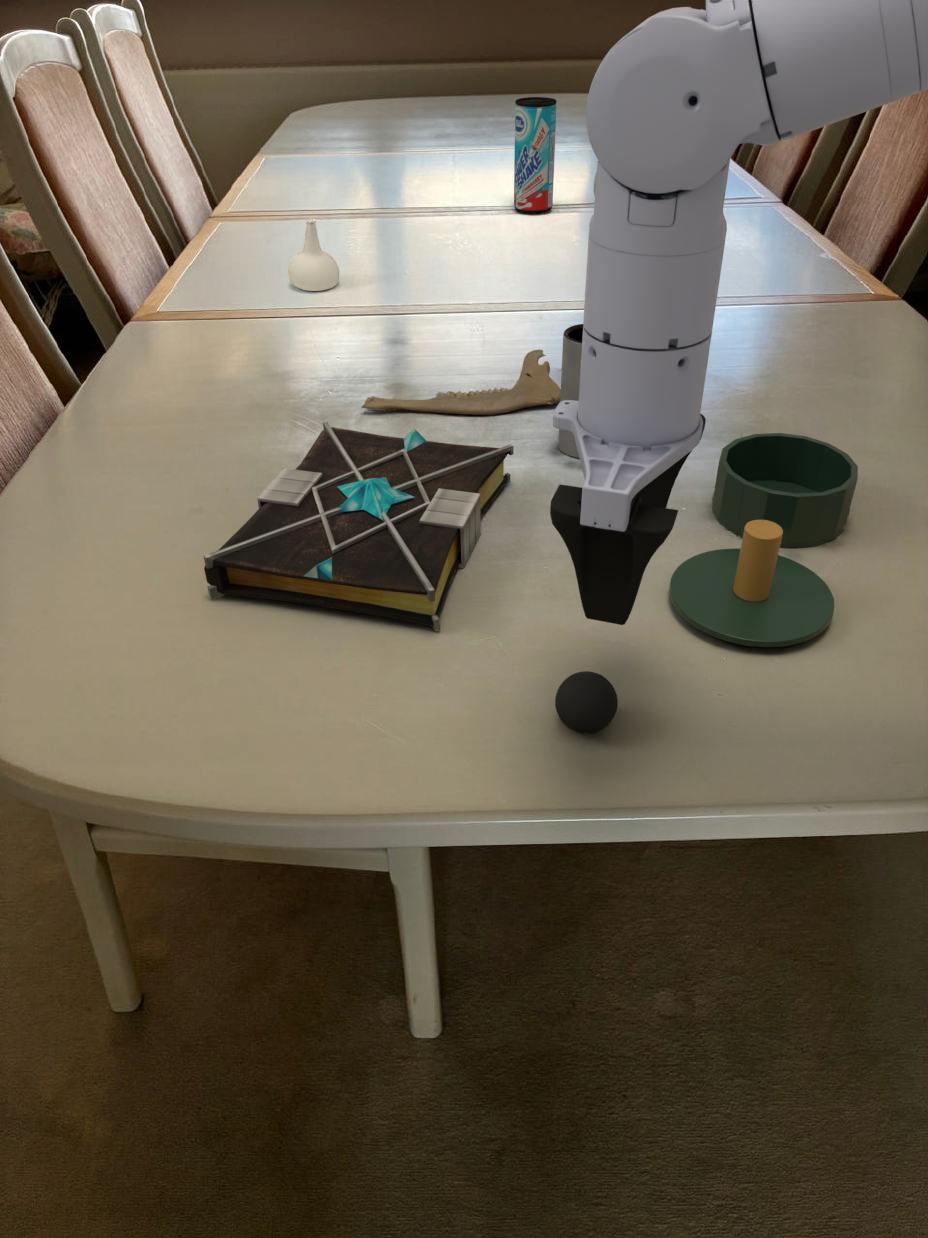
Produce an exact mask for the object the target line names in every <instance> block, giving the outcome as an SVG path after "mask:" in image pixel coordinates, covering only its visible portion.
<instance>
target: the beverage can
mask: <svg viewBox="0 0 928 1238" xmlns="http://www.w3.org/2000/svg"><path fill="white" fill-rule="evenodd" d="M514 102H515V103H514V104H515V108H514V109H515V110H514V111H515V112H514V164H513V165H514V167H513V168H514V171H513V177H514V178H513V186H514V187H513V208H514V210H515V211H516V212H517V213H520V214H522V215H530V216H531V215H533V216H535V215H544V214H547V213H549V212H551V211H552V208H553V204H554V203H553V200H554V177H555V176H554V175H555V157H556V156H555V153H556V129H557V127H556V125H557V122H556V121H557V102H558V101H557V99H555V98H553V97H546V96H543V97H542V96H528V97H522V98H517V99H515V101H514Z"/></svg>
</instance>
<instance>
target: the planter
mask: <svg viewBox="0 0 928 1238" xmlns="http://www.w3.org/2000/svg"><path fill="white" fill-rule="evenodd" d="M562 335H563V336H562V352H561V354H562V355H561V358H562V359H561V377H560V389H561V394H560V401H559V403H560V402H562V401H564V400H574V401H579V389H580V373H581V357H582V338H583V323H578V324H574V325H571V326H569V327H567V328H565V329H564V331H563V334H562ZM557 438H558V440H557V441H558V442H557V443H558V444H557V445H558V448H559V450H560V451H561V452H562V453H563V454H565V455H566V456H570V457H573V458H578V459H580V458H579V454H578V450H577V446H576V442H575V438H574V434H573V433H572V432H570V431H567V430H560V429H558V437H557Z"/></svg>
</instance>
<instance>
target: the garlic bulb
mask: <svg viewBox="0 0 928 1238" xmlns="http://www.w3.org/2000/svg"><path fill="white" fill-rule="evenodd" d="M316 222H317V219H315V218H308V220H306V226H305V231H304V232H305V233H304V243H303V248H302V250H301V251H300V252H298V253H297V254H295V255H293V257H292V258H291V260H290V261H289V264H288V267H287V268H288V269H287V270H288V271H287V275H288V279H289V282H290V283H291V285H293V286H294V287H295V288H297V289H300V290H303V291H310V292H321V291H328V290H330V289H332V288H334V287H336V285H338V283H339V280H340V267H339V265H338V262H337V261H336V259H335V258H334V257H333V256H332V255H331V254H329V253H328V252H326V251H324V250H322V248H321V245H320V240H319V235H318V230H317V225H316V224H317V223H316Z"/></svg>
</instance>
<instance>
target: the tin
mask: <svg viewBox="0 0 928 1238" xmlns="http://www.w3.org/2000/svg"><path fill="white" fill-rule="evenodd" d="M858 479H859V466H858V464H857V463H856V462H855V461H854V460H853V458H852V457H851V456H850V455H849V454H848V453H846V452H845V451H844V450H842V449H840V448H838V447H837V446H834V445H833V444H831V443H829V442H826V441H823V440H819V439H816V438H812V437H809V436H806V435H799V434H792V433H785V432H769V433H753V434H749V435H746V436H743V437H742V436H741V437H739V438H738V437H737V438H735V439H733V440H731V442H729V443H728V444H726V445H725V446H724V447H722V448H721V452H720V456H719V460H718V466H717V472H716V478H715V485H714V491H713V496H712V503H711V504H712V506H711V507H712V513H713V515H714V518H715V519H716V520H717V521H718V522H719V523H720V525H721V526H722V527H724V528H725V529H726V530H728V531H729V532H731V533H733V534H735V535H736V536H738V537H740V538H743V533H744V528H745V525H746V524H747V523H748V522H750V521H753V520H768V521H771V522H774V523H776V524H778V525H779V526H780V527H781V528H782V530H783V535H782V539H781V544H780V548H793V549H795V548H807V547H815V546H819V545H822V544H826V543H828V542H830V541H832V540H834V539H835V538H836V537H838V536H839V535H840V534H841V533H842V531H843V529H844V527H846V524H847V521H848V517H849V513H850V509H851V506H852V502H853V498H854V495H855V490H856V486H857V483H858Z"/></svg>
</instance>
